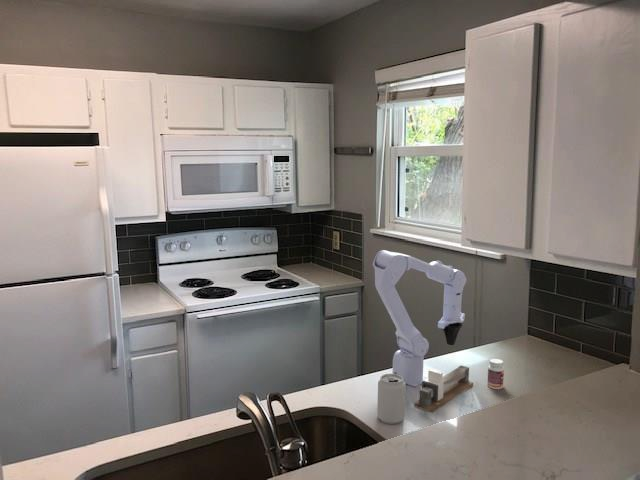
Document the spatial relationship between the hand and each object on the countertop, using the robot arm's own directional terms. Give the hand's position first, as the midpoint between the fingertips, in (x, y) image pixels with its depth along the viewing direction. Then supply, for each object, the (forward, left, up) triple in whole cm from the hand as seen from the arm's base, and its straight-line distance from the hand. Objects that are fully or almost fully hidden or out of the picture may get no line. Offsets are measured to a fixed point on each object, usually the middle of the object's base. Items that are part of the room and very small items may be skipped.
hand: (450, 344), depth 177 cm
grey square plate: (+8, -26, -8) cm, 28 cm away
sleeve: (+8, -24, -8) cm, 26 cm away
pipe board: (+7, -17, -10) cm, 21 cm away
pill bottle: (+16, 0, -10) cm, 19 cm away
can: (+4, -40, -10) cm, 41 cm away
